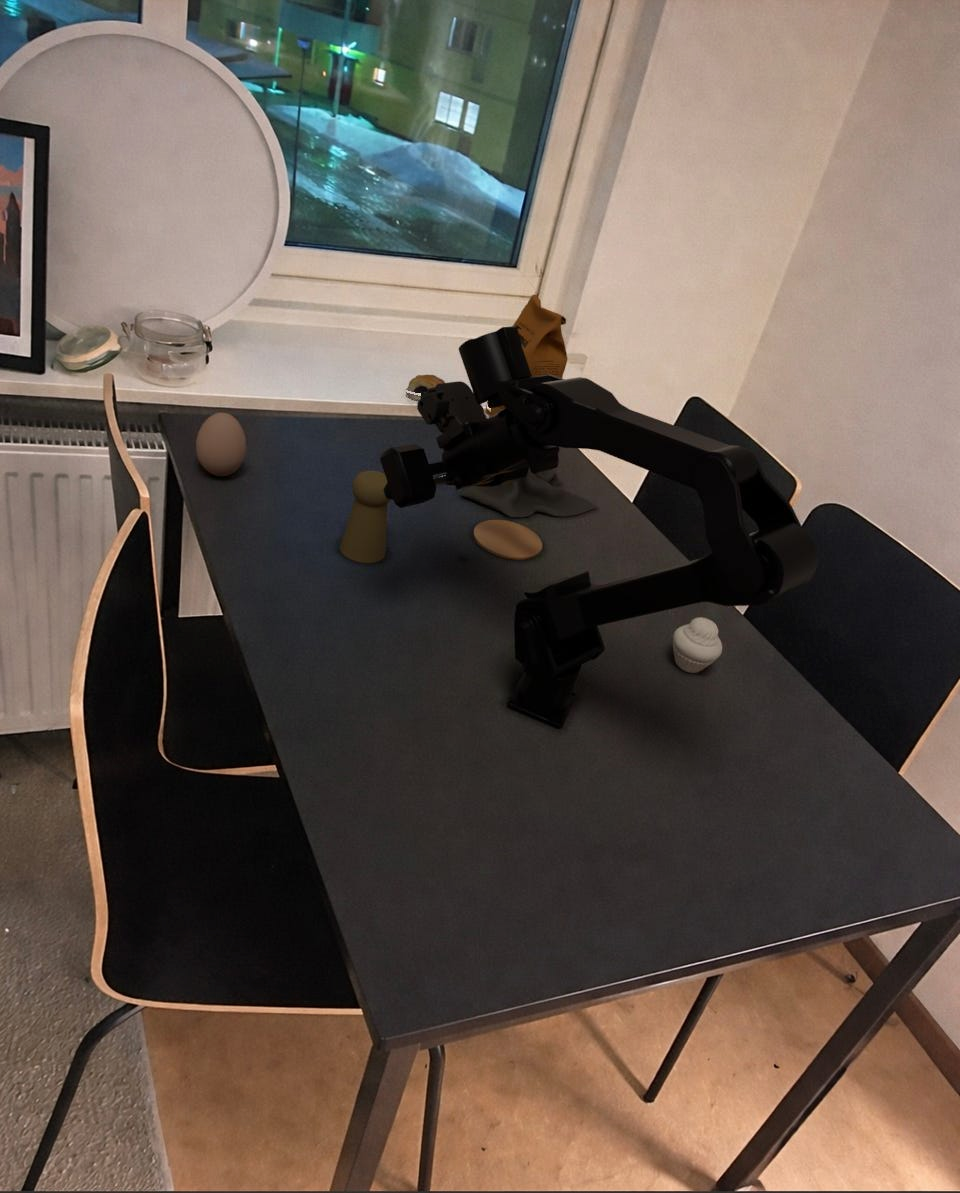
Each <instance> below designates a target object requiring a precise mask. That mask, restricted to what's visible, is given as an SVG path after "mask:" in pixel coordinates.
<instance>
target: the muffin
mask: <svg viewBox="0 0 960 1193" xmlns="http://www.w3.org/2000/svg"><path fill="white" fill-rule="evenodd" d="M672 650H673V655H674V662H675V664H676V666H677V667H678V668H679V669H680V670H682V671H684V672H687V673H690V674H696V673H700V672H701V671H703V670H704V669H705V668H706V669H707V667H709V666H710V665H712V664H713V663H715V661H716V660H717V659H719V658H720V656H721V655H722V652H723V643H722V641H721V638H720V637H719V628H718V625H717V624H716V623H715V622H714V621H713V620H710V619H709V618H706V617H702V616H699V617H694V618H693V619H692V620H690V623H687V624H684V625H681V626H679V627H678V628H677V629H676V630H675V631H674V633H673V636H672Z"/></svg>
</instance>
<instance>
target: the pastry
mask: <svg viewBox="0 0 960 1193" xmlns="http://www.w3.org/2000/svg"><path fill="white" fill-rule="evenodd" d="M441 383H446V382H445V380H444V379H442V378H440V377H438V376H437V375H434V374H417V375H416V376H415V377H413V378H411V379H410V380H409V382H408V386H407V387H406V389H405V393H406V395H407V397H408V398H409V399H410V400H414V401H418V402H419V400H420V399H421V396H418V395H414V394H410V393H407V392H406V390H408V391H411V392H415V393H423V392H427V391H428V390H429V388H434V387H435V386H436V385H437V384H441Z"/></svg>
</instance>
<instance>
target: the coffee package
mask: <svg viewBox="0 0 960 1193" xmlns="http://www.w3.org/2000/svg"><path fill="white" fill-rule="evenodd" d="M566 324H567V318H566V317H565V316H564V315H562V314H559V313H558V312H555V311H552V310H550V309H548V308H546V307H542V302H541V299H540V298H539V296H538V294H532V295H531V297H529V300H528V301H527V303H526V304H525V305H524V307H523V309H522V310H521V312H520V314H519V315H518V317H517V319H516V320H515V321H514V323H513V325H512V326H516V327H517V329H518V332H519V335H520V338H521V345H522V348H523V351H524V354H525V357H526V360H527V363H528V366H529V369H530V371H531V374H532V377H535V376H542V375H549V374H551V375H554V376H556V377H559V378H562V379H563V376H564V373H565V370H566V367H567V363H568V354H567V347H566V344H565V340H564V337H563V331H562V326H563V325H566ZM503 409H505V407H504V406H500V407H495V408H491V412H490V411H489V410H488V409H487V406H486V407H485V412H486V413H488V415H490V416H493V415H494V414H496V413H498V412H500V411H501V410H503Z"/></svg>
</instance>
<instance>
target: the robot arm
mask: <svg viewBox="0 0 960 1193" xmlns="http://www.w3.org/2000/svg"><path fill="white" fill-rule="evenodd" d="M458 352H459V356H460V358H461V362H462V364H463V368H464V370H465V373H466V375H467V378H468V379H467V380H468V382H469V384H470V385H469V384H467V383H466V382H464V381H462V380H461V381H460V380H457V381H451V382H445V383H441V384H437V385H436V386H435V387H434V388H429V390H428V391H427V392H423V393H421V399H420V400H419V401H418V402H417V404H416V406H417V407H416V409H417V411H418V413H419V414H420V416H421V417H422V419H423V421H424V422H425V424H426V425H435V426H436V428H437V429H438V431H439V432H440V433H441V434H440V435H439V436H437V437H435V440H436V442H437V446H438V448H439V449H440V450H441V449H442V450H443V451H442V453H441V461H437V462H433V463H429V461H428V457H427V454H426V452H425V448H424V447H423V446H421V444H418V443H417V442H413V443H408V444H407V443H406V444H402V445H401V444H400V445H396V446H391V447H389V448H387V449H386V450H384V451H383V452H381V454H380V457H379V462H380V465H381V466H382V470H383V473H384V474H385V476H386V479H387V484H386V486H385V487H384V494H385V497H386V498H387V499H391V500H390V501H393V502H394V505H396V506H397V507H398V508H400V509H402V508H407V507H411V506H415V505H419V504H420V505H421V504H424V503H426V502H428V501H430V500H432V499H435V497H436V491H437V486H440V485H446V486H455V489H456V491H457V490H462V489H463V490H464V489H467V488H468V487H471V486H483V487H493V486H497V485H502V484H506V483H510V482H515V481H518V480H520V479H522V478H524V477H526V476H527V473H528V469H529V468H530V471H531V472H532V473H533V474H534V473H539V472H543V471H547V470H551V469H553V470H554V469H557V468H558V466H559V462H560V458H559V453H560V451H561V448H563V449H564V448H565V449H582V450H593V451H598V452H601V453H604V454H607V455H609V456H612V457H614V458H617V459H618V460H621V461H625V462H626V463H629V464H631V465H634V466H636V467H638V468H641V469H644V470H646V471H649V472H651V473H654V474H656V475H658V476H661V477H663V478H666V479H668V480H671V481H673V482H677V483H678V484H681V485H683V486H686V487H689V488H691V489H693V490H696V493H697V496H698V497H699V499H700V501H701V504H702V508H703V517H704V518H703V519H704V525H705V527H704V528H705V534H706V535H705V536H706V541H707V543H708V546H709V547H710V550H711V552H709V553H707V554H705V555H703V556H702V557H700V558H697V559H693V560H689V561H686V562H681V563H678V564H675V565H671V566H667V567H663V568H659V569H655V570H653V571H649V572H644V573H641V574H638V575H634V576H630V577H627V578H623V579H620V580H615V581H613V582H609V583H605V584H596V583H593V582H592V580H591V578H590V577H591V576H590V572H589V570H587V571H584V572H581V573H578V574H576V575H572V576H570V577H568V576H563V577H561V578H558V579H555V580H553V581H551V582H548V583H545V584H542V585H539V586H537V587H533V588H531V589H529V590H526V591H524V592H523V595H524V596H525V597H526V598H523V599H520V600H519V601H518V602H517V603H516V604H515V611H514V620H513V621H514V622H513V626H514V628H513V629H514V630H513V631H514V658H515V660H516V661H518V662H519V664H521V665H522V667H523V668H522V669H523V673H522V675H521V678H520V679H519V681H518V683H517V684H516V686H515V687H514V689H513V691H512V692H511V694H510V695H509V696H510V697H509V698H508V700H507V702H506V706H507V707H508V708H510V709H512V710H515V711H517V712H519V713H522V714H523V715H526V716H528V717H531V718H533V719H536V720H539V721H540V722H543V723H544V724H545V723H546V724H548V725H550V726H553V727H555V728H558V729H562V728H563V727H564V725H565V722H566V720H567V718H568V715H569V714H570V712H571V710H572V707H573V705H574V703H575V701H576V699H577V696H578V693H577V692H576V691H574V689H575V687H576V684H577V681H578V678H579V676H580V672H581V670H582V665H584V664H587V663H589V662H591V661H594V660H596V659H597V658H599V657H600V656H601V654H603V653H604V651H605V650H606V646H605V644H604V641H603V638H602V635H601V632H600V629H599V626H603V625H607V624H611V623H615V622H619V621H624V620H629V619H634V618H638V617H642V616H647V615H651V614H656V613H660V612H665V611H668V610H669V611H670V610H673V609H678V608H682V607H687V606H690V605H695V604H699V603H709V604H714V605H718V606H722V607H755V606H756V607H757V606H762V605H764V604H766V603H769V602H772V601H773V600H775V599H777V598H779V597H780V596H783V595H785V594H787V593H788V592H791V591H793V590H794V589H796V588H799V587H800V586H802V585H805V584H806V583H808V582H809V581H810V580H811V579H813V577H814V574H815V572H816V570H817V568H818V563H819V553H818V548H817V546H816V543H815V541H814V539H813V537H812V536H811V535H810V534H809V533H808V532H807V531H806V530H805V528H803V526H802V524H801V521H800V520H799V518H798V517H797V516H798V515H796V511H795V510H794V508H793V506H792V504H791V503H790V501H788V499H787V498H786V496H784V495H783V494H782V493H781V491H779V490H778V489H777V487H776V486H775V485H774V484H773V483H772V482H771V481H770V480H769V478H767V476H766V474H765V472H764V470H763V468H762V466H761V464H760V463H759V461H758V458H757V457H756V455H755V454H754V453H753V452H752V451H751V450H749V449H748V448H745V447H743V446H741V445H732V444H731V445H730V444H727V443H724V442H721V441H718V440H716V439H713V438H710V437H707V436H705V435H702V434H699V433H696V432H694V431H691V430H689V429H686V428H683V427H680V426H677V425H675V424H672V423H668V422H666V421H663V420H661V419H657V418H655V417H652V416H649V415H647V414H644V413H641V412H638V411H636V410H632V409H630V408H628V407H627V406H625V405H623V404H622V403H621V402H619V400H618V399H617V398H616V396H615V395H614V393H613V392H611V391H609V390H608V389H606V388H605V387H604V386H603V387H602V386H601V385H600V384H598V383H596V382H594V381H593V380H591V379H589V378H587V377H581V376H579V377H571V378H563V377H562V378H559V377H556V376H554V375H551V374H549V375H542V376H535V377H532V374H531V371H530V369H529V366H528V363H527V360H526V357H525V354H524V351H523V348H522V345H521V338H520V335H519V332H518V329H517V327H516V326H513V325H512V326H511V325H510V326H502V327H500V328H499V329H497V330H496V331H492V332H488V333H484V334H483V335H480V336H478V337H476V338H469V339H467V340H466V341H464V342H462V343H461V344H460V345H459V347H458ZM485 403H487V404H488V407H489V408H495V407H500V406H504V407H505V409H503V410H501V411H500V412H498V413H496V414H494V415H493V416H492V415H490V416H489V417H487V416H486V413H485V408H484V407H483V406H482V405H483V404H485ZM487 404H486V405H487ZM743 511H744V512H745V513H746V514H747V515H748V516H749V517H750V519H751V520H753V521H754V523H755V524H756V526H757V529H758V530H757V531H754V532H751V533H750V532H749V531H748V529H747V527H746V524H745V519H744V512H743Z"/></svg>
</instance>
